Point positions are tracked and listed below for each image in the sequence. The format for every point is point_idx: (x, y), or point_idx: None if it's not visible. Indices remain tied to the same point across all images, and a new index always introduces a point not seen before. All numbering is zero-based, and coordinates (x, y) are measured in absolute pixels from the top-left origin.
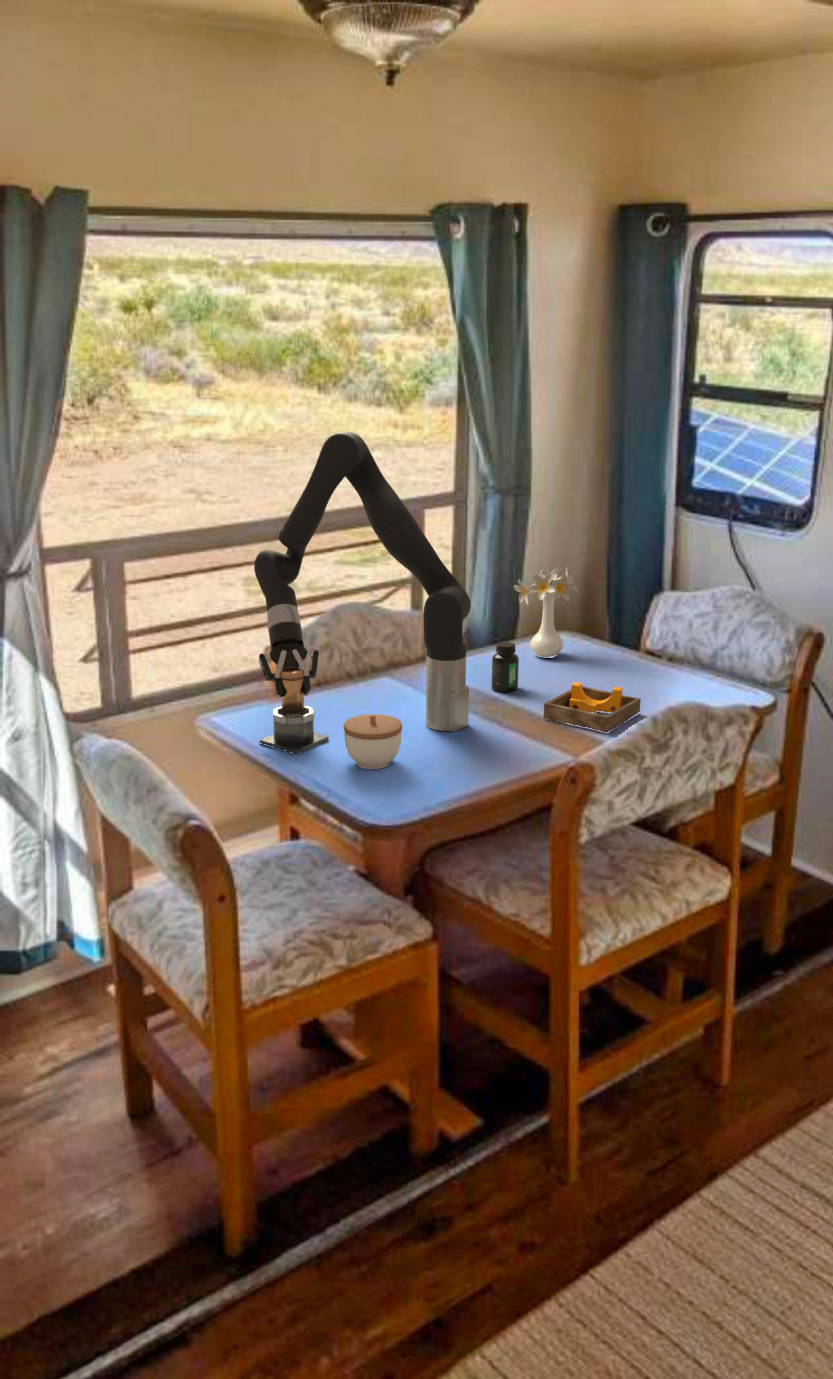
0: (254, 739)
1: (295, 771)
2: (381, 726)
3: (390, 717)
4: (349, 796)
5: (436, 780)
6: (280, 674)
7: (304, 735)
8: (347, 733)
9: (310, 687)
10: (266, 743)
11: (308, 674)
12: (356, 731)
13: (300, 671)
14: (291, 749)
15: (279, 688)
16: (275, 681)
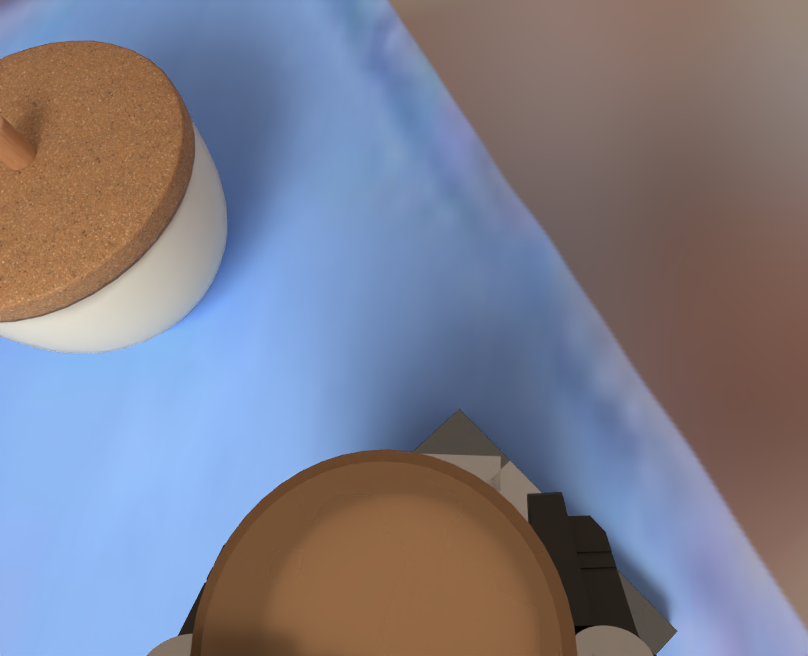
0: None
1: (481, 226)
2: (4, 108)
3: None
4: (316, 18)
5: None
6: (565, 601)
7: None
8: (190, 118)
9: (223, 547)
10: (627, 582)
11: (156, 652)
12: (146, 68)
13: (250, 601)
14: (482, 433)
15: (569, 526)
16: (630, 623)
